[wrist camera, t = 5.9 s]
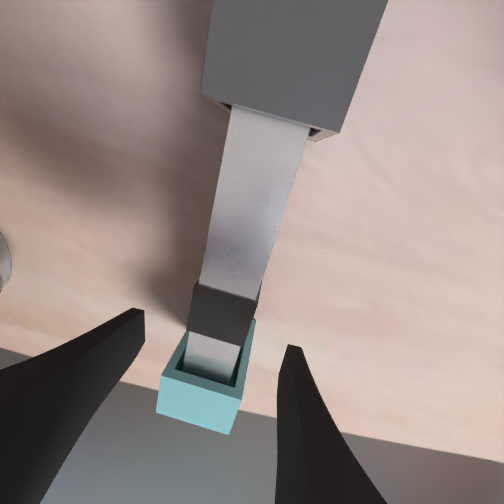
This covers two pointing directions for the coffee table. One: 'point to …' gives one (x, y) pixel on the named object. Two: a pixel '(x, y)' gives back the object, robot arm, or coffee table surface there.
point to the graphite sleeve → (289, 58)
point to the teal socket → (202, 391)
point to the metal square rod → (240, 237)
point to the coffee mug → (4, 263)
